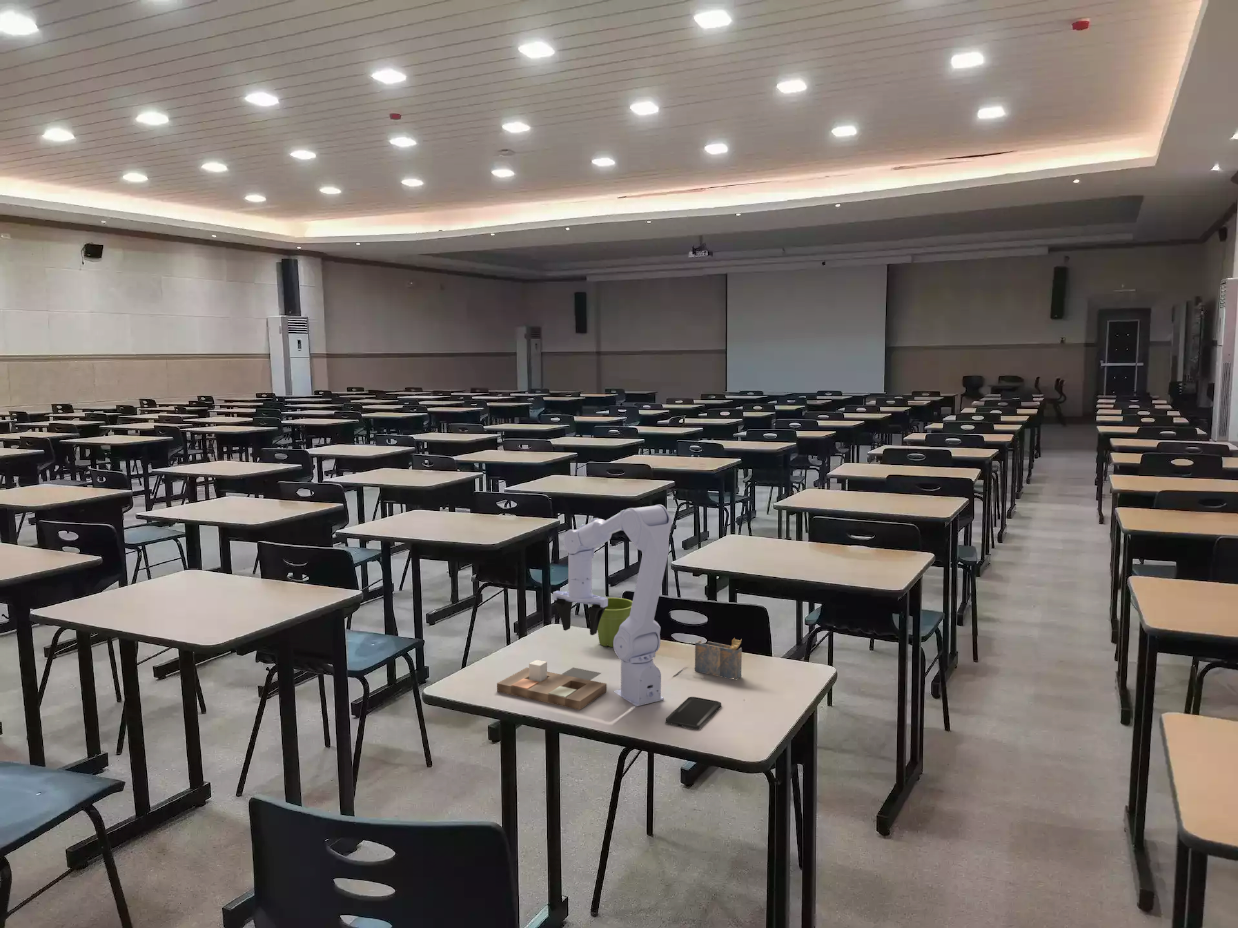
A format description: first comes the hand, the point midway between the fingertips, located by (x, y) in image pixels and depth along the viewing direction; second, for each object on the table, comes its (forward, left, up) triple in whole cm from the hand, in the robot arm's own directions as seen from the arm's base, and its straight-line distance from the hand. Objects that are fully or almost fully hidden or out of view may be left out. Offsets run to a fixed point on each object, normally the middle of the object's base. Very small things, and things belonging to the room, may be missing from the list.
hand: (580, 631), depth 207 cm
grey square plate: (-4, +3, -10) cm, 11 cm away
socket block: (-10, +13, -10) cm, 19 cm away
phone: (-36, -8, -10) cm, 38 cm away
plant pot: (+14, -18, -10) cm, 25 cm away
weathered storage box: (-19, -28, -11) cm, 36 cm away
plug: (-5, +14, -10) cm, 18 cm away
